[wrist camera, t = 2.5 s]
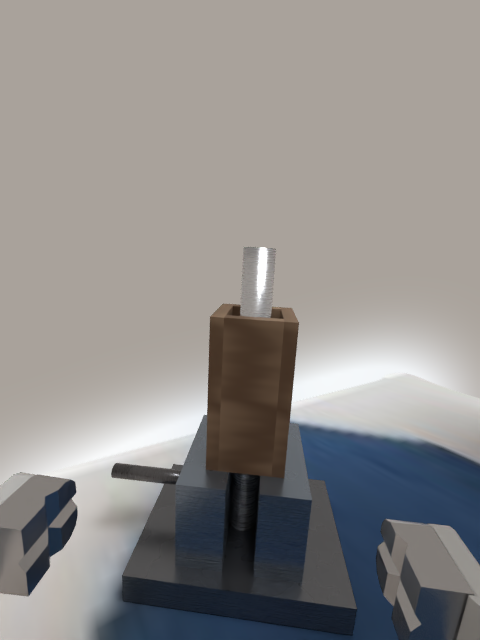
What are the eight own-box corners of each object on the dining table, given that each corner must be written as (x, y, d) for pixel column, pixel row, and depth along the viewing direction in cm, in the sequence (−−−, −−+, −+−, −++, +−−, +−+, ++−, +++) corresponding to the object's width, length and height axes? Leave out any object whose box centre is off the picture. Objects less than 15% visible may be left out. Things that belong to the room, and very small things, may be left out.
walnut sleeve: (280, 432, 23) (291, 308, 21) (284, 478, 18) (298, 322, 16) (218, 426, 24) (223, 303, 22) (205, 469, 19) (210, 316, 17)
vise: (321, 499, 27) (353, 254, 22) (352, 635, 17) (418, 252, 13) (143, 479, 28) (138, 244, 24) (77, 594, 19) (48, 234, 14)
